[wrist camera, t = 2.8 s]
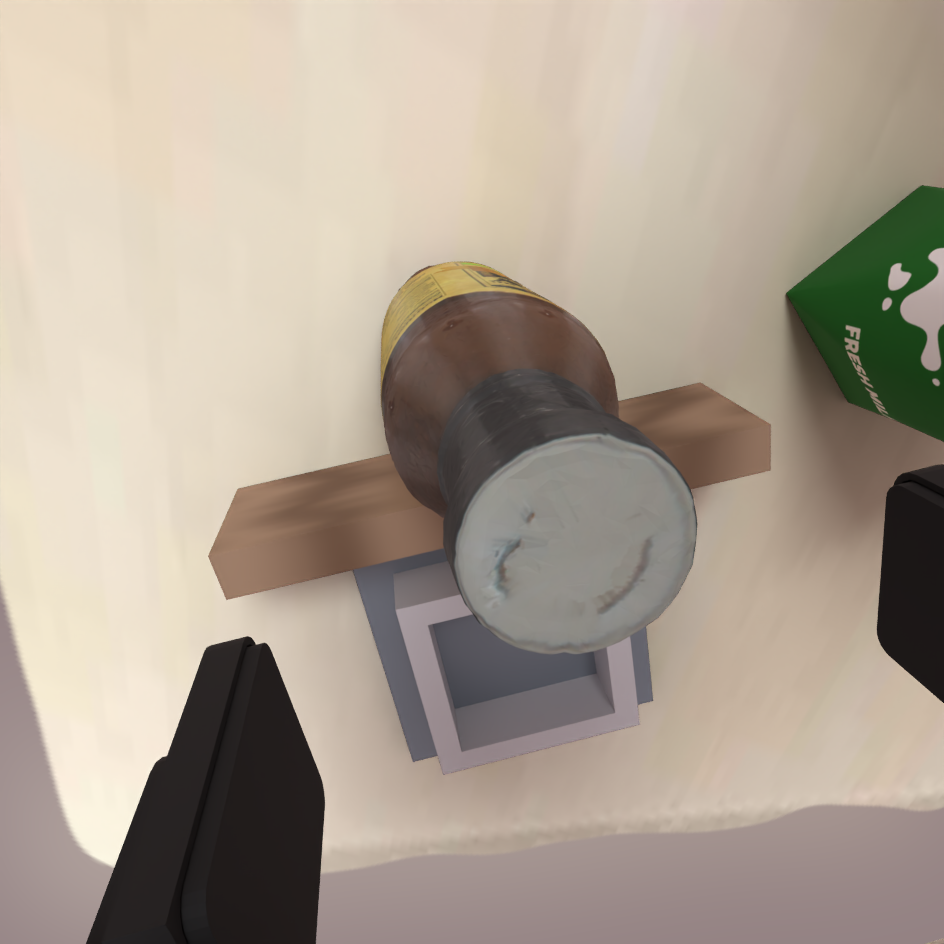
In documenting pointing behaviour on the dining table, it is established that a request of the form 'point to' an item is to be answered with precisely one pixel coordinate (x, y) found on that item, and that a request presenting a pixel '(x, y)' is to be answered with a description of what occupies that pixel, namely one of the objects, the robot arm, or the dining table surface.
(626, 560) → the sauce bottle
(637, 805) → the dining table surface
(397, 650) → the holder
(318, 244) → the dining table surface
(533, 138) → the dining table surface
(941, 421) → the milk carton
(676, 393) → the walnut wall
